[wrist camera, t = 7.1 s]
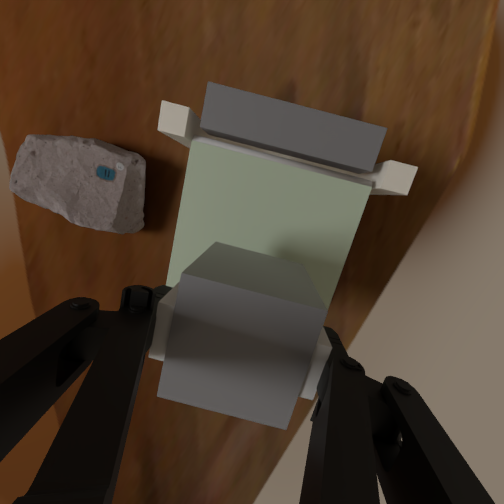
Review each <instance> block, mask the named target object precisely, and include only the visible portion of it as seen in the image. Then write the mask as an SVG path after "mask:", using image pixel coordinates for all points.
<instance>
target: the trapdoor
mask: <svg viewBox="0 0 504 504" xmlns="http://www.w3.org/2000/svg"><path fill="white" fill-rule="evenodd" d="M200 127H201V128H202V129H203V130H204V131H205V132H206V133H207V134H208V135H211V136H215V137H219V138H223V139H227V140H230V141H234V142H238V143H242V144H246V145H250V146H254V147H257V148H261V149H265V150H269V151H273V152H277V153H280V154H284V155H288V156H292V157H296V158H300V159H303V160H307V161H311V162H315V163H319V164H323V165H326V166H330V167H334V168H338V169H342V170H346V171H349V172H353V173H357V174H361V173H367V172H372V170H373V168H374V165H375V162H376V159H377V156H378V154H379V151H380V148H381V145H382V142H383V139H384V137H385V134H386V131H387V128H385V127H381V126H377V125H373V124H369V123H366V122H362V121H358V120H354V119H350V118H346V117H343V116H339V115H335V114H331V113H327V112H323V111H320V110H316V109H312V108H308V107H304V106H300V105H297V104H293V103H289V102H285V101H281V100H277V99H274V98H270V97H266V96H262V95H258V94H254V93H250V92H247V91H243V90H239V89H235V88H231V87H227V86H224V85H220V84H216V83H212V82H208V84H207V90H206V95H205V101H204V106H203V112H202V117H201V123H200ZM371 189H372V181H371V180H367V179H363V178H359V177H355V176H352V175H348V174H344V173H340V172H336V171H332V170H329V169H325V168H321V167H317V166H313V165H309V164H306V163H302V162H298V161H294V160H290V159H286V158H283V157H279V156H275V155H271V154H267V153H263V152H259V151H256V150H252V149H248V148H244V147H240V146H236V145H233V144H229V143H225V142H221V141H217V140H213V139H210V138H206V137H202V136H198V135H194V136H193V139H192V142H191V147H190V153H189V159H188V164H187V170H186V175H185V181H184V187H183V192H182V198H181V204H180V209H179V215H178V220H177V226H176V232H175V237H174V243H173V249H172V254H171V260H170V265H169V271H168V277H167V282H166V286H169V287H174V286H175V285H176V284H177V283H178V282H179V281H180V277H181V273H182V272H183V271H184V270H185V269H186V268H187V267H188V266H189V265H190V264H192V263H193V262H194V261H195V260H196V259H197V258H198V257H199V256H200V255H201V254H203V253H204V252H205V251H206V250H207V249H208V248H209V247H210V246H211V245H212V244H214V243H215V242H220V243H224V244H227V245H231V246H235V247H239V248H243V249H247V250H250V251H254V252H258V253H262V254H266V255H270V256H274V257H277V258H281V259H285V260H289V261H293V262H297V263H300V264H303V265H304V267H305V269H306V271H307V272H308V274H309V276H310V278H311V280H312V282H313V284H314V286H315V287H316V289H317V291H318V293H319V295H320V297H321V299H322V301H323V303H324V304H325V306H326V308H327V310H328V308H329V305H330V302H331V300H332V297H333V294H334V291H335V289H336V286H337V283H338V280H339V277H340V275H341V272H342V269H343V266H344V264H345V261H346V258H347V255H348V253H349V250H350V247H351V244H352V241H353V239H354V236H355V233H356V230H357V228H358V225H359V222H360V219H361V216H362V214H363V211H364V208H365V205H366V203H367V200H368V197H369V194H370V192H371Z"/></svg>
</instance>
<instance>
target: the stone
mask: <svg viewBox="0 0 504 504" xmlns="http://www.w3.org/2000/svg"><path fill="white" fill-rule="evenodd" d="M145 171H146V161H145V159H144V158H143V157H142V156H140V155H139V154H138V153H134V152H131V151H127V150H125V149H123V148H120V147H117V146H115V145H112V144H109V143H106V142H104V141H101V140H98V139H94V138H91V139H87V138H81V137H75V136H54V135H27V137H26V140H25V142H24V143H23V144H22V145H21V147H20V149H19V151H18V153H17V156H16V161H15V164H14V167H13V170H12V173H11V179H10V186H9V189H10V190H11V191H12V192H14V193H15V194H17V195H18V196H19V197H20V198H22V199H24V200H25V201H28V202H30V203H34V204H37V205H39V206H41V207H43V208H46V209H51V210H52V211H53V212H55V213H57V214H61V215H63V216H64V217H65V218H66V219H67V220H69V221H70V222H71V223H74V224H76V225H79V226H82V227H88V228H93V229H95V230H102V231H108V232H116V233H119V234H124V233H126V232H129V233H135V232H138V231H139V230H141V229H142V228H143V227H144V221H143V217H144V213H143V207H144V199H145Z"/></svg>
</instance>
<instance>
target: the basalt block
mask: <svg viewBox="0 0 504 504" xmlns="http://www.w3.org/2000/svg"><path fill="white" fill-rule="evenodd" d="M327 312H328V310H327V308H326V306H325V304H324V303H323V301H322V299H321V297H320V295H319V293H318V291H317V289H316V287H315V286H314V284H313V282H312V280H311V278H310V276H309V274H308V272H307V271H306V269H305V267H304V265H303V264H300V263H297V262H293V261H289V260H285V259H281V258H277V257H274V256H270V255H266V254H262V253H258V252H254V251H250V250H247V249H243V248H239V247H235V246H231V245H227V244H224V243H220V242H215V243H214V244H212V245H211V246H210V247H209V248H208V249H207V250H206V251H205V252H204V253H203V254H201V255H200V256H199V257H198V258H197V259H196V260H195V261H194V262H193V263H192V264H190V265H189V266H188V267H187V268H186V269H185V270H184V271H183V272H182V273H181V277H180V282H179V287H178V292H177V297H176V302H175V307H174V312H173V317H172V322H171V327H170V332H169V337H168V342H167V348H166V353H165V358H164V363H163V368H162V373H161V378H160V383H159V388H158V393H157V397H161V398H165V399H169V400H173V401H177V402H180V403H184V404H188V405H192V406H196V407H200V408H203V409H207V410H211V411H215V412H219V413H223V414H227V415H230V416H234V417H238V418H242V419H246V420H250V421H253V422H257V423H261V424H265V425H269V426H273V427H277V428H280V429H284V430H286V429H287V426H288V423H289V420H290V418H291V415H292V412H293V409H294V406H295V403H296V401H297V398H298V395H299V392H300V389H301V386H302V384H303V381H304V378H305V375H306V372H307V369H308V366H309V364H310V361H311V358H312V355H313V352H314V349H315V347H316V344H317V341H318V338H319V335H320V332H321V329H322V327H323V324H324V321H325V318H326V315H327Z"/></svg>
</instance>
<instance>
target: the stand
mask: <svg viewBox="0 0 504 504" xmlns="http://www.w3.org/2000/svg"><path fill="white" fill-rule="evenodd" d="M200 123H201V120H200V119H199V118H198V116H197V115H196V114H195V113H194V112H193V111H192V110H191V109H190V108H189V107H185V106H182V105H178V104H174V103H170V102H166V101H162V104H161V110H160V117H159V124H158V131H160V132H162V133H164V134H165V135H167V136H169V137H171V138H172V139H174V140H176V141H178V142H179V143H181V144H183V145H185V146H186V147H188V148H190V147H191V142H192V139H193V136H194V135H198V136H202V137H206V138H210V139H213V140H217V141H221V142H225V143H229V144H233V145H236V146H240V147H244V148H248V149H252V150H256V151H259V152H263V153H267V154H271V155H275V156H279V157H283V158H286V159H290V160H294V161H298V162H302V163H306V164H309V165H313V166H317V167H321V168H325V169H329V170H332V171H336V172H340V173H344V174H348V175H352V176H355V177H359V178H363V179H367V180H371V181H372V189H371V192H370V194H369V195H408V192H409V190H410V187H411V185H412V182H413V179H414V177H415V174H416V172H417V169H418V167H416V166H412V165H408V164H404V163H400V162H396V161H393V160H389V161H386V162H382V163H378V164H375V165H374V168H373V170H372V172H367V173H361V174H357V173H353V172H349V171H346V170H342V169H338V168H334V167H330V166H326V165H323V164H319V163H315V162H311V161H307V160H303V159H300V158H296V157H292V156H288V155H284V154H280V153H277V152H273V151H269V150H265V149H261V148H257V147H254V146H250V145H246V144H242V143H238V142H234V141H230V140H227V139H223V138H219V137H215V136H211V135H208V134H207V133H206V132H205V131H204V130H203V129H202V128H201V127H200Z"/></svg>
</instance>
